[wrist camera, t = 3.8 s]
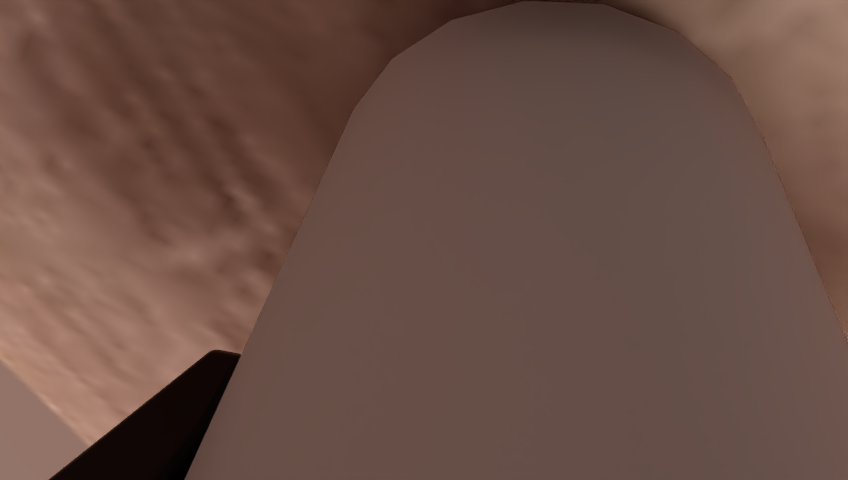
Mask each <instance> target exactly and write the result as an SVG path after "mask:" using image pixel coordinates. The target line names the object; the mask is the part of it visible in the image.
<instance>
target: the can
mask: <svg viewBox="0 0 848 480" xmlns="http://www.w3.org/2000/svg"><path fill="white" fill-rule="evenodd" d="M185 480H848V343H847V340H846V338H845V335H844V333H843V330H842V328H841V326H840V323H839V321H838V318H837V316H836V314H835V311H834V309H833V306H832V304H831V301H830V299H829V297H828V294H827V292H826V289H825V287H824V284H823V282H822V280H821V277H820V275H819V272H818V270H817V267H816V265H815V263H814V260H813V258H812V255H811V253H810V250H809V248H808V246H807V243H806V241H805V238H804V236H803V234H802V231H801V229H800V226H799V224H798V221H797V219H796V217H795V214H794V212H793V209H792V207H791V204H790V202H789V200H788V197H787V195H786V192H785V190H784V187H783V185H782V183H781V180H780V178H779V175H778V173H777V170H776V168H775V166H774V163H773V161H772V158H771V156H770V154H769V151H768V149H767V146H766V144H765V141H764V139H763V137H762V134H761V132H760V130H759V129H758V127H757V125H756V123H755V121H754V119H753V118H752V116H751V114H750V112H749V110H748V108H747V107H746V105H745V103H744V101H743V99H742V97H741V95H740V94H739V92H738V90H737V88H736V86H735V84H734V83H733V81H732V79H731V77H730V76H729V75H727V74H726V73H725V72H724V71H723V70H721V69H720V68H719V67H718V66H717V65H715V64H714V63H713V62H712V61H711V60H710V59H708V58H707V57H706V56H705V55H704V54H702V53H701V52H700V51H699V50H698V49H696V48H695V47H694V46H693V45H692V44H690V43H689V42H688V41H687V40H686V39H684V38H683V37H682V36H681V35H680V34H679V33H677V32H676V31H674V30H671V29H669V28H666V27H663V26H661V25H658V24H655V23H653V22H650V21H647V20H645V19H642V18H639V17H637V16H634V15H631V14H629V13H626V12H623V11H621V10H618V9H615V8H613V7H610V6H607V5H605V4H589V3H567V2H545V1H521V2H518V3H514V4H510V5H506V6H503V7H499V8H495V9H491V10H488V11H484V12H480V13H476V14H473V15H469V16H465V17H461V18H458V19H454V20H451V21H449V22H448V23H446V24H445V25H443V26H441V27H440V28H438V29H437V30H435V31H434V32H432V33H431V34H429V35H428V36H426V37H425V38H423V39H422V40H420V41H418V42H417V43H415V44H414V45H412V46H411V47H409V48H408V49H406V50H405V51H403V52H402V53H400V54H398V55H397V56H395V57H394V58H392V59H391V61H390V62H389V63H388V65H387V66H386V67H385V69H384V70H383V71H382V73H381V74H380V75H379V76H378V78H377V79H376V80H375V82H374V83H373V84H372V86H371V87H370V88H369V90H368V91H367V92H366V93H365V95H364V96H363V97H362V99H361V100H360V101H359V103H358V104H357V105H356V107H355V108H354V109H353V112H352V114H351V116H350V118H349V120H348V122H347V125H346V127H345V129H344V131H343V133H342V136H341V138H340V140H339V142H338V144H337V147H336V149H335V151H334V153H333V155H332V158H331V160H330V162H329V164H328V166H327V168H326V171H325V173H324V175H323V177H322V179H321V182H320V184H319V186H318V188H317V190H316V193H315V195H314V197H313V199H312V201H311V204H310V206H309V208H308V210H307V212H306V215H305V217H304V219H303V221H302V223H301V225H300V228H299V230H298V232H297V234H296V236H295V239H294V241H293V243H292V245H291V247H290V250H289V252H288V254H287V256H286V258H285V261H284V263H283V265H282V267H281V269H280V271H279V274H278V276H277V278H276V280H275V282H274V285H273V287H272V289H271V291H270V293H269V296H268V298H267V300H266V302H265V304H264V307H263V309H262V311H261V313H260V315H259V317H258V320H257V322H256V324H255V326H254V328H253V331H252V333H251V335H250V337H249V339H248V342H247V344H246V346H245V348H244V350H243V353H242V355H241V357H240V359H239V361H238V363H237V366H236V368H235V370H234V372H233V374H232V377H231V379H230V381H229V383H228V385H227V388H226V390H225V392H224V394H223V396H222V399H221V401H220V403H219V405H218V407H217V410H216V412H215V414H214V416H213V418H212V420H211V423H210V425H209V427H208V429H207V431H206V434H205V436H204V438H203V440H202V442H201V445H200V447H199V449H198V451H197V453H196V456H195V458H194V460H193V462H192V464H191V466H190V469H189V471H188V473H187V475H186V477H185Z"/></svg>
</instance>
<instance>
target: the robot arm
mask: <svg viewBox="0 0 848 480" xmlns="http://www.w3.org/2000/svg"><path fill="white" fill-rule="evenodd" d="M240 357H241V354H238V353H233V352H227V351H222V350H213V351H210V352H209V353H207V354H206V355H205V356H204V357H202V358H201V359H200V360H199V361H197V362H196V363H195V364H193V365H192V366H191V367H190V368H188V369H187V370H186V371H185V372H183V373H182V374H181V375H180V376H178V377H177V378H176V379H175V380H173V381H172V382H171V383H170V384H168V385H167V386H166V387H165V388H163V389H162V390H161V391H160V392H158V393H157V394H156V395H154V396H153V397H152V398H151V399H149V400H148V401H147V402H146V403H144V404H143V405H142V406H141V407H139V408H138V409H137V410H136V411H134V412H133V413H132V414H131V415H129V416H128V417H127V418H126V419H124V420H123V421H122V422H121V423H119V424H118V425H117V426H116V427H114V428H113V429H112V430H110V431H109V432H108V433H107V434H105V435H104V436H103V437H102V438H100V439H99V440H98V441H97V442H95V443H94V444H93V445H92V446H90V447H89V448H88V449H87V450H86V451H84V452H83V453H82V454H80V455H79V456H78V457H77V458H75V459H74V460H73V461H71V462H70V463H69V464H68V465H66V466H65V467H64V468H63V469H61V470H60V471H59V472H58V473H56V474H55V475H54V476H53V477H51V478H50V479H49V480H185V477H186V475H187V473H188V471H189V469H190V466H191V464H192V462H193V460H194V458H195V456H196V453H197V451H198V449H199V447H200V445H201V442H202V440H203V438H204V436H205V434H206V431H207V429H208V427H209V425H210V423H211V420H212V418H213V416H214V414H215V412H216V410H217V407H218V405H219V403H220V401H221V399H222V396H223V394H224V392H225V390H226V388H227V385H228V383H229V381H230V379H231V377H232V374H233V372H234V370H235V368H236V366H237V363H238V361H239V359H240Z"/></svg>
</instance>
